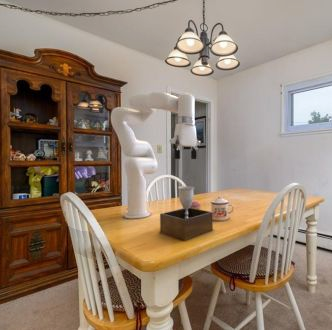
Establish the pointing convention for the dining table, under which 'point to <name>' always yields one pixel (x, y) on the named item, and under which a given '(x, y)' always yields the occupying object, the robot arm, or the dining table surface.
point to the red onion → (195, 205)
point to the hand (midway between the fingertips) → (185, 159)
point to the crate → (186, 223)
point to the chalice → (186, 197)
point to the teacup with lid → (220, 209)
